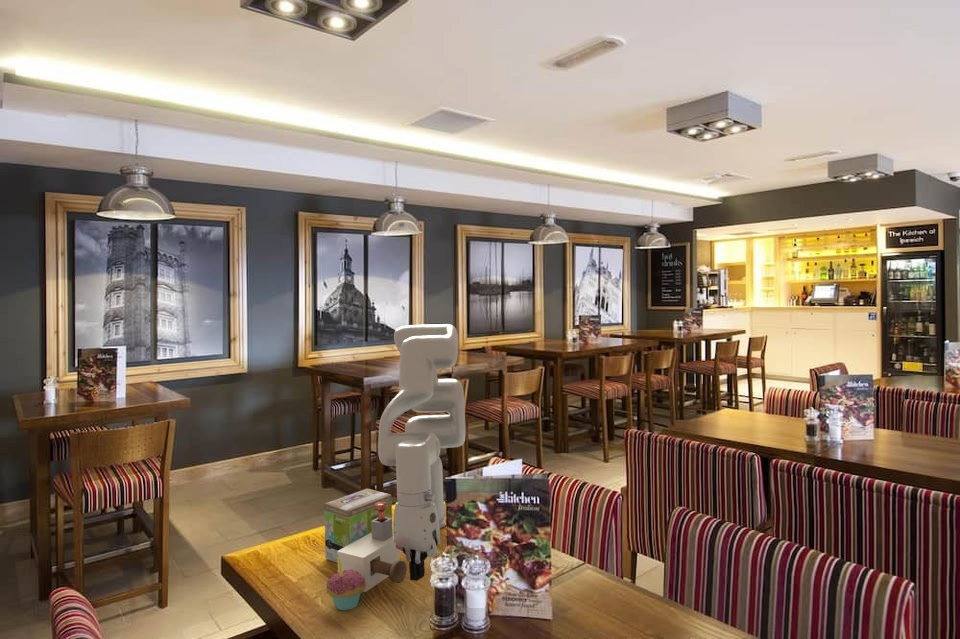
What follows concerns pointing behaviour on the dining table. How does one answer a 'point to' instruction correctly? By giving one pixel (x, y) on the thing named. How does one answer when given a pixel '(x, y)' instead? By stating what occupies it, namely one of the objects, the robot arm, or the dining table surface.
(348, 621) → the dining table surface
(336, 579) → the cupcake
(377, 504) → the plunger
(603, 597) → the dining table surface
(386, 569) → the pin
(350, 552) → the block
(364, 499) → the tea box
